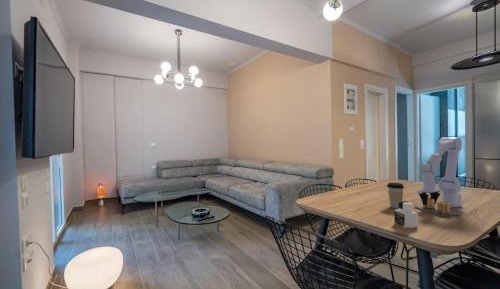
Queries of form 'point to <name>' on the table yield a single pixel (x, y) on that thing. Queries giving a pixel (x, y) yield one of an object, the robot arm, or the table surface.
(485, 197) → the table surface
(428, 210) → the block
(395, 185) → the coffee cup
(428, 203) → the tan wooden cube
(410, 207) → the medicine bottle
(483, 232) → the table surface
